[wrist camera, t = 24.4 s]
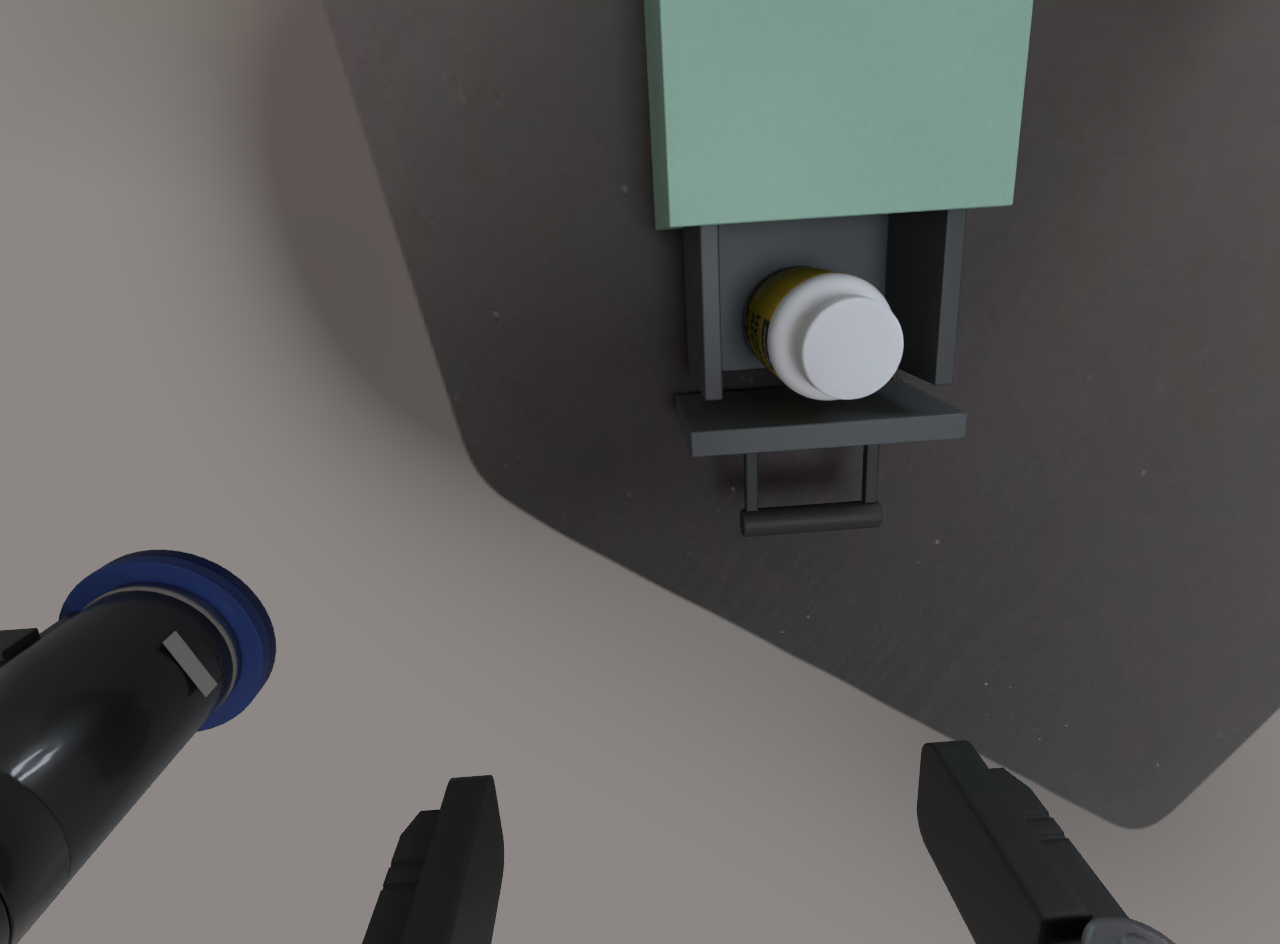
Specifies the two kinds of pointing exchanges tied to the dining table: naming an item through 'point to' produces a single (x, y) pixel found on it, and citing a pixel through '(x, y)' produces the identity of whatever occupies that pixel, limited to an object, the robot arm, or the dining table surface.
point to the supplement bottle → (823, 332)
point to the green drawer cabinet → (832, 107)
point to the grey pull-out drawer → (781, 418)
